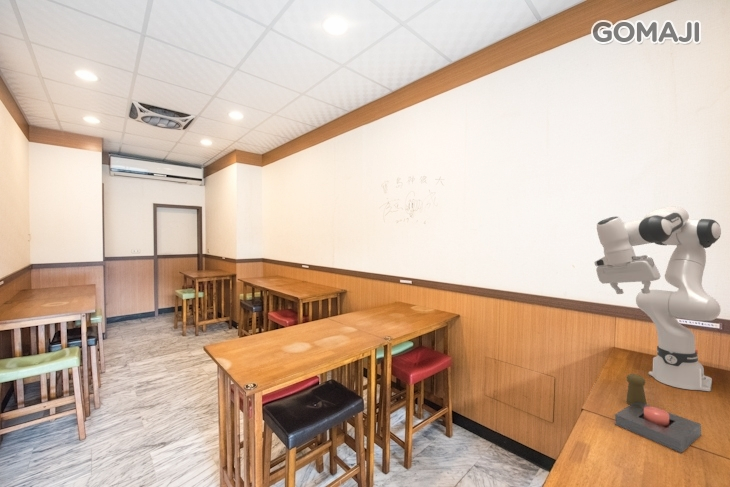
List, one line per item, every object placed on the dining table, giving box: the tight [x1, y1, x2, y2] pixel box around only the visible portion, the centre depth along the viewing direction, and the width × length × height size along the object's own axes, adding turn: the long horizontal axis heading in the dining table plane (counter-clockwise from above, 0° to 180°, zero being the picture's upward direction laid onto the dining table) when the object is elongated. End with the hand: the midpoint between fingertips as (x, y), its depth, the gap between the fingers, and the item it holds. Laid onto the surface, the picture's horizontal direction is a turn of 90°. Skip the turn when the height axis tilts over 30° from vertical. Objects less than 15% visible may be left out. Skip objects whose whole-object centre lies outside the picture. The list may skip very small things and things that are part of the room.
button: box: [644, 405, 670, 428], centre depth 98 cm, size 6×6×4 cm
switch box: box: [614, 401, 702, 454], centre depth 98 cm, size 16×16×4 cm
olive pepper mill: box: [625, 373, 648, 406], centre depth 113 cm, size 6×6×11 cm
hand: (632, 293), depth 113 cm, fingers open, 8 cm apart
